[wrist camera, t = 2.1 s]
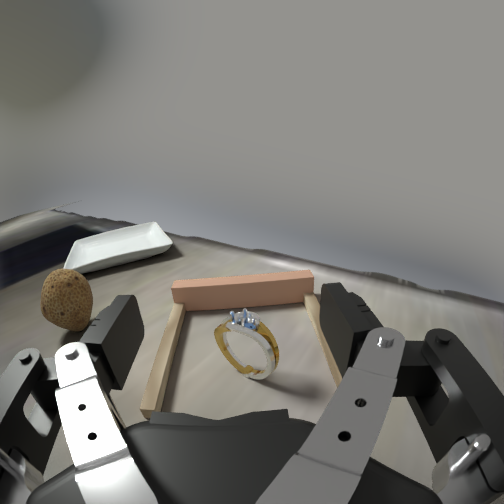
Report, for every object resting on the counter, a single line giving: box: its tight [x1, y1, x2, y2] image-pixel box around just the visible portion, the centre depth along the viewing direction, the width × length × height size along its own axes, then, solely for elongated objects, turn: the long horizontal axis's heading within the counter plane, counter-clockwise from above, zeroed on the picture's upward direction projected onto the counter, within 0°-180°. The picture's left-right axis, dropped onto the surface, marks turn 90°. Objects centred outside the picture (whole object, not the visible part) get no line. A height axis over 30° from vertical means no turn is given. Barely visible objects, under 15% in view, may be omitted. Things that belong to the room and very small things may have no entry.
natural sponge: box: [41, 269, 93, 331], centre depth 34 cm, size 9×9×10 cm
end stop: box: [171, 270, 314, 311], centre depth 41 cm, size 20×2×4 cm, turn 93°
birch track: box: [140, 292, 342, 418], centre depth 31 cm, size 20×20×2 cm
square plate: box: [63, 222, 173, 274], centre depth 67 cm, size 27×27×4 cm
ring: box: [214, 308, 279, 379], centre depth 26 cm, size 7×3×8 cm, turn 49°
